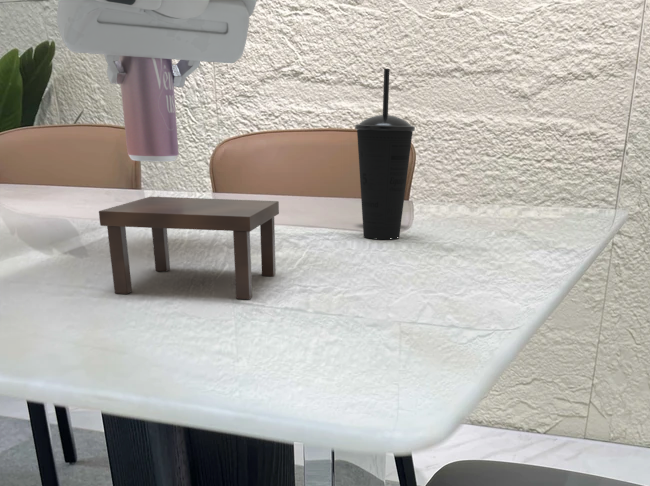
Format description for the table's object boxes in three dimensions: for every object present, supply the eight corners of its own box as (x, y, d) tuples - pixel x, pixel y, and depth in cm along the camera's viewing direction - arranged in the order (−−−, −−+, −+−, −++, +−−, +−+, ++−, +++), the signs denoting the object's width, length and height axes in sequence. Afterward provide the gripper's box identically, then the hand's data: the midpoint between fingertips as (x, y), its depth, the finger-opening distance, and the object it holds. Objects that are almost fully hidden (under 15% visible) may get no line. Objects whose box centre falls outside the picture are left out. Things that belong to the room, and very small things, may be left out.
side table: (108, 294, 68) (98, 211, 65) (156, 268, 80) (150, 196, 77) (252, 300, 67) (249, 216, 64) (280, 273, 79) (278, 201, 76)
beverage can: (153, 157, 96) (141, 18, 90) (189, 160, 94) (179, 16, 87) (117, 159, 92) (101, 12, 85) (154, 162, 89) (140, 10, 82)
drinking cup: (383, 231, 109) (389, 71, 100) (421, 238, 103) (430, 69, 95) (341, 235, 104) (343, 67, 95) (378, 243, 99) (384, 66, 90)
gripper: (251, -39, 84) (219, 65, 95) (58, -68, 73) (47, 53, 85) (271, 5, 82) (236, 106, 94) (77, -17, 72) (63, 99, 84)
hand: (145, 81), depth 89 cm, fingers closed on beverage can, 6 cm apart
